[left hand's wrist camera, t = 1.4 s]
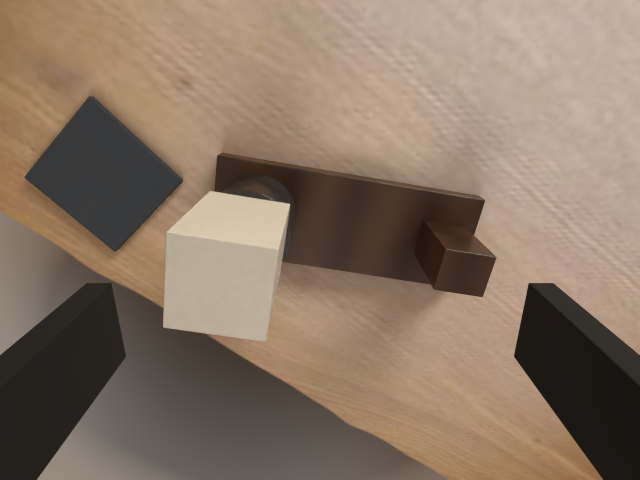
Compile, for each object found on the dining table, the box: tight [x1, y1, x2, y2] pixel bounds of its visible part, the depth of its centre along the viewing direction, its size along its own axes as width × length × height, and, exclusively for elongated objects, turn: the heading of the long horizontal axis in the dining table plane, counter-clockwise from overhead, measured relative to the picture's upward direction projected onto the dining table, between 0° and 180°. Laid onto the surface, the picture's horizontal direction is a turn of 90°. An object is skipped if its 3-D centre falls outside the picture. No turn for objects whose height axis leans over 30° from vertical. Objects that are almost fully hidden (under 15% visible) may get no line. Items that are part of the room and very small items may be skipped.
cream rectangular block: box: [163, 191, 290, 342], centre depth 27 cm, size 6×6×9 cm
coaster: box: [25, 97, 183, 251], centre depth 37 cm, size 10×10×1 cm
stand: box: [215, 153, 496, 297], centre depth 34 cm, size 24×9×8 cm, turn 80°
